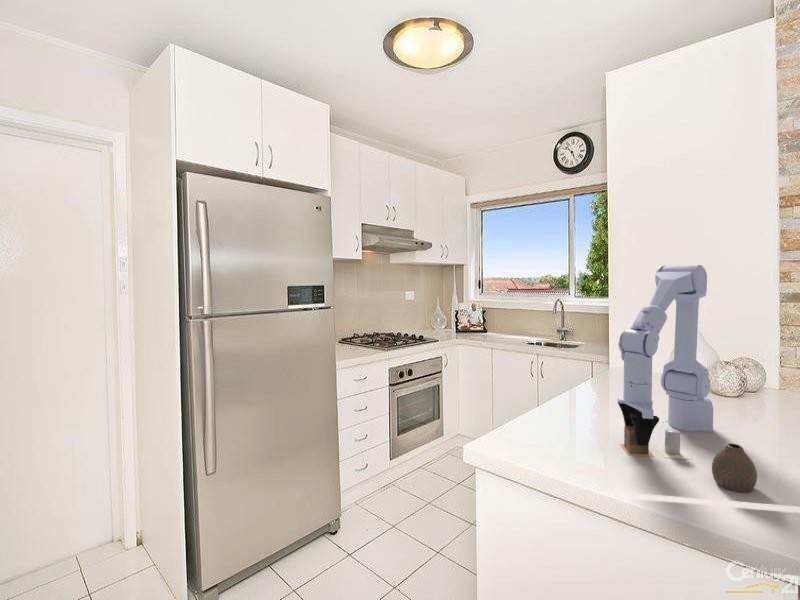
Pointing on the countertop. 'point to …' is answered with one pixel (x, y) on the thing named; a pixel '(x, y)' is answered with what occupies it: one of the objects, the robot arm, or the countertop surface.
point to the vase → (734, 469)
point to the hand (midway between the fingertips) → (636, 438)
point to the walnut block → (633, 442)
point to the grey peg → (672, 441)
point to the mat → (662, 452)
